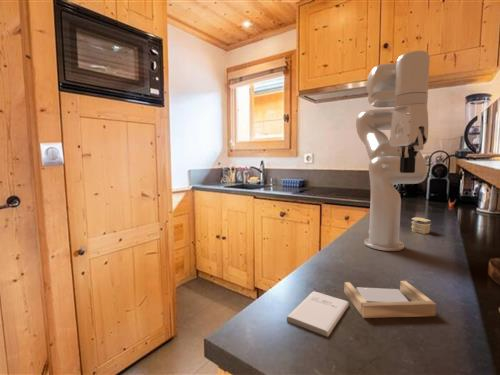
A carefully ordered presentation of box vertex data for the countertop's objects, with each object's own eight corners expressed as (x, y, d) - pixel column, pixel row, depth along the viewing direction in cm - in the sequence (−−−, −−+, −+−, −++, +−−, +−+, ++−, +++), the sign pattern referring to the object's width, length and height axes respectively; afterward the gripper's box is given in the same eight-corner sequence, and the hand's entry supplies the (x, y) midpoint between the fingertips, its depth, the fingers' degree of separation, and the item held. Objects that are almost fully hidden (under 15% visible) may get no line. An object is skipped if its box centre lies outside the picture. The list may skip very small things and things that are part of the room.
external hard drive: (286, 323, 53) (312, 296, 63) (327, 340, 48) (348, 308, 58) (286, 315, 53) (312, 290, 63) (327, 331, 48) (349, 300, 58)
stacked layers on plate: (438, 233, 111) (439, 220, 111) (424, 236, 108) (425, 223, 107) (415, 228, 120) (415, 216, 120) (401, 230, 117) (402, 218, 116)
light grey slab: (356, 297, 62) (356, 287, 62) (397, 299, 61) (398, 289, 60) (363, 312, 56) (363, 300, 56) (409, 315, 55) (410, 303, 55)
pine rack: (344, 292, 63) (344, 282, 63) (404, 290, 64) (405, 280, 63) (363, 317, 53) (363, 305, 53) (435, 316, 54) (436, 304, 53)
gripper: (382, 108, 79) (379, 171, 81) (414, 96, 64) (410, 174, 66) (407, 108, 79) (404, 171, 81) (445, 96, 64) (440, 174, 66)
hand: (407, 172), depth 73 cm, fingers closed
